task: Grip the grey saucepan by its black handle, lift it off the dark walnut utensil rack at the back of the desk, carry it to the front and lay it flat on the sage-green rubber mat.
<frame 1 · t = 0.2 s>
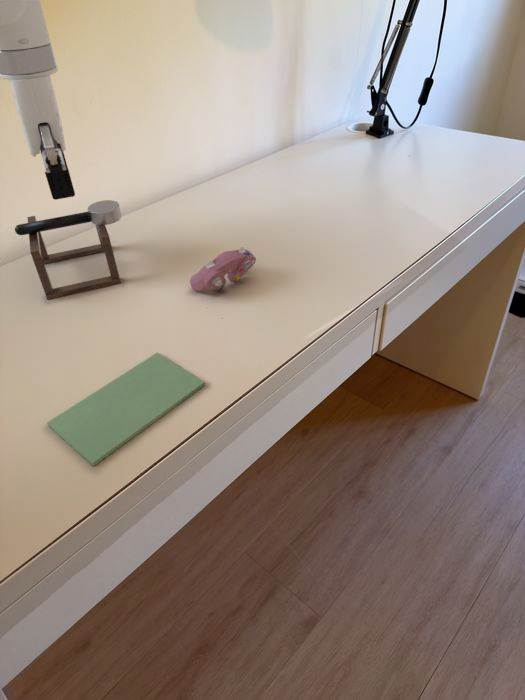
hand: (61, 186, 81), 13 cm above the table, tool pointing down, fingers open, 9 cm apart
rack: (80, 271, 86), on the table
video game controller: (225, 285, 81), on the table
grey saucepan: (56, 228, 81), point 8 cm above the table, touching rack
mat: (129, 404, 62), on the table
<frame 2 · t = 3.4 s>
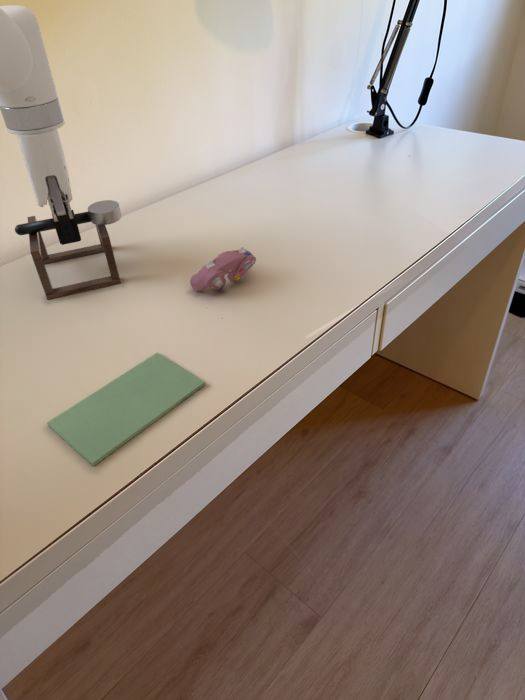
hand: (70, 238, 83), 6 cm above the table, tool pointing down, fingers closed on grey saucepan, 1 cm apart
grey saucepan: (56, 228, 81), point 8 cm above the table, touching gripper, rack
everything else where it was.
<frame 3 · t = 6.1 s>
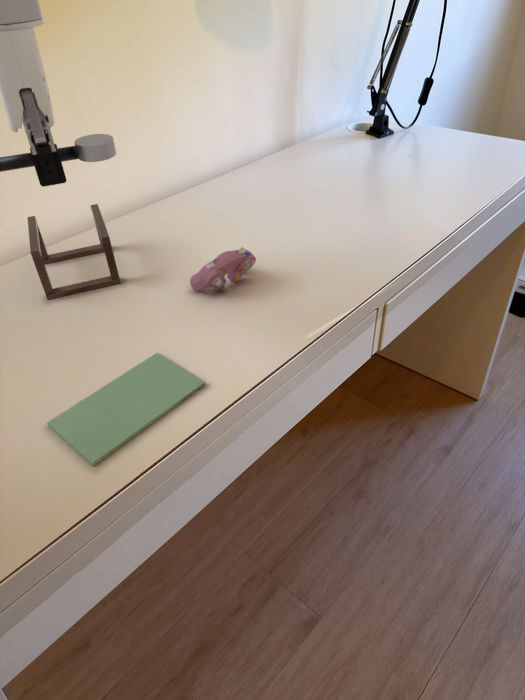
hand: (52, 180, 67), 19 cm above the table, tool pointing down, fingers closed on grey saucepan, 1 cm apart
grey saucepan: (35, 165, 66), point 21 cm above the table, touching gripper
everything else where it was.
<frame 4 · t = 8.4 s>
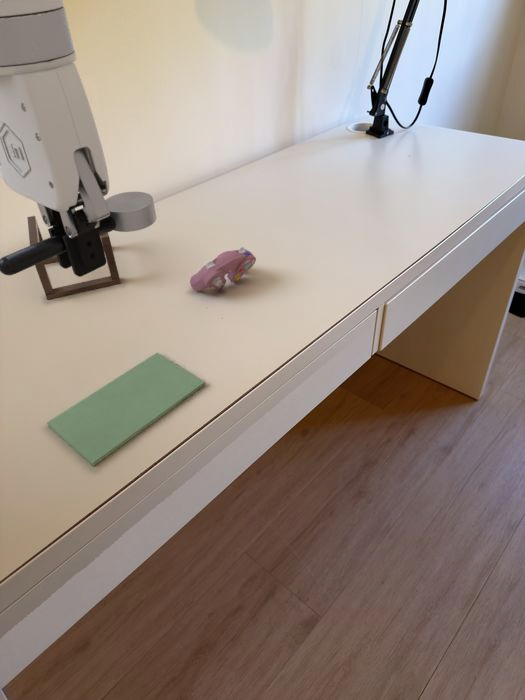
hand: (83, 264, 49), 19 cm above the table, tool pointing down, fingers closed on grey saucepan, 1 cm apart
grey saucepan: (63, 251, 47), point 21 cm above the table, touching gripper
everything else where it was.
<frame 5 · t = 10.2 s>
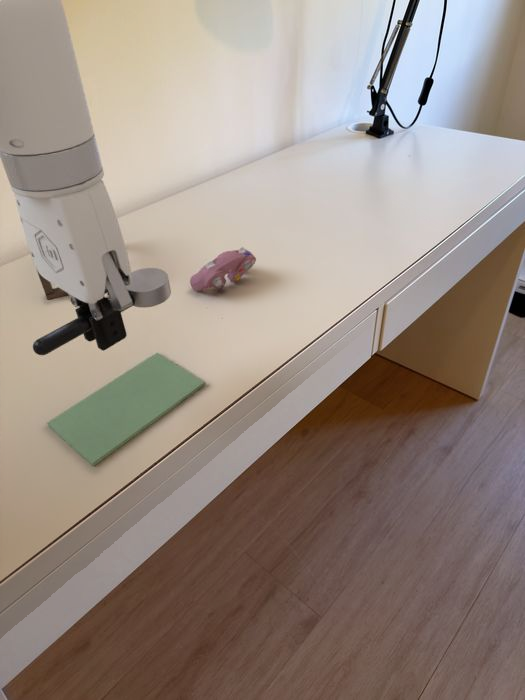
hand: (106, 337, 55), 10 cm above the table, tool pointing down, fingers closed on grey saucepan, 1 cm apart
grey saucepan: (89, 328, 53), point 12 cm above the table, touching gripper
everything else where it was.
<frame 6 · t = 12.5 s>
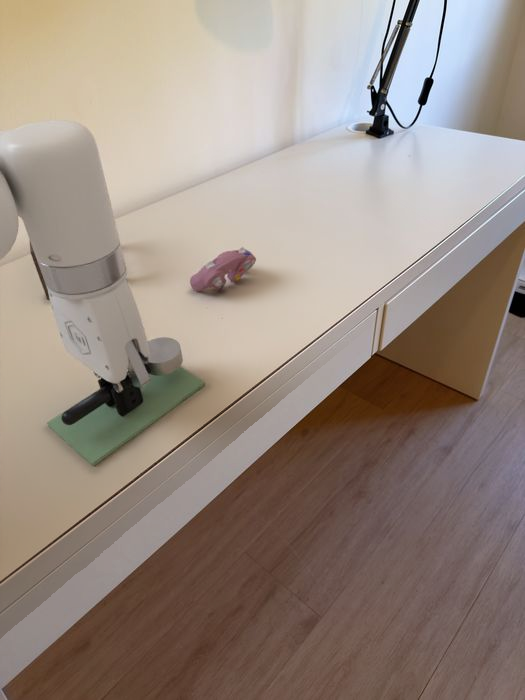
hand: (124, 403, 61), 1 cm above the table, tool pointing down, fingers closed on grey saucepan
grey saucepan: (110, 397, 59), point 3 cm above the table, touching gripper
everything else where it was.
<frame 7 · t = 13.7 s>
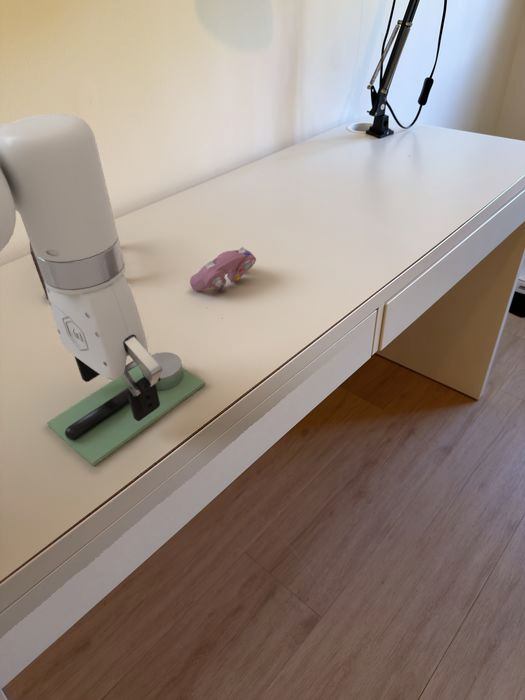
hand: (120, 393, 60), 2 cm above the table, tool pointing down, fingers open, 9 cm apart
grey saucepan: (112, 411, 60), resting on mat
everything else where it was.
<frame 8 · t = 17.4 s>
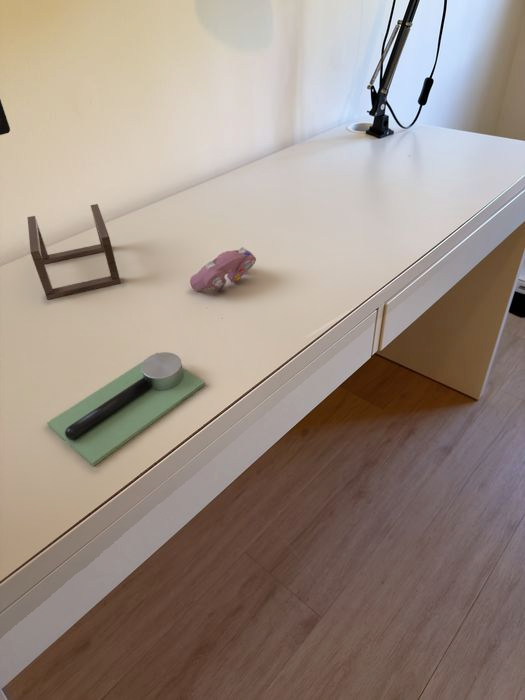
nothing on the table moved.
at the end: grey saucepan 0.5 cm from the target spot on the mat, point 0.5 cm above the mat's base; grey saucepan touching mat; grey saucepan tilted 0° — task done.
